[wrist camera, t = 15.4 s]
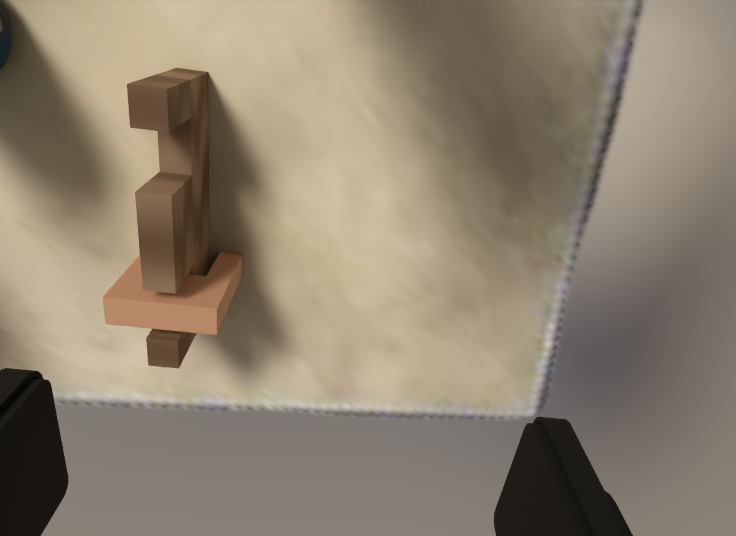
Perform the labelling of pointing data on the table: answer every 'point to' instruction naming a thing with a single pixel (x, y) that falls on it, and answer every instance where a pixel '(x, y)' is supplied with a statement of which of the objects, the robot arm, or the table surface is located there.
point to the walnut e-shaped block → (173, 193)
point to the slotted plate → (176, 299)
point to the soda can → (4, 37)
